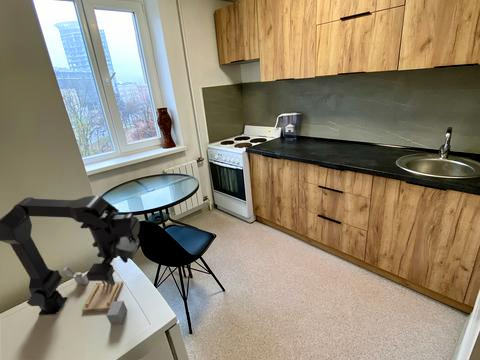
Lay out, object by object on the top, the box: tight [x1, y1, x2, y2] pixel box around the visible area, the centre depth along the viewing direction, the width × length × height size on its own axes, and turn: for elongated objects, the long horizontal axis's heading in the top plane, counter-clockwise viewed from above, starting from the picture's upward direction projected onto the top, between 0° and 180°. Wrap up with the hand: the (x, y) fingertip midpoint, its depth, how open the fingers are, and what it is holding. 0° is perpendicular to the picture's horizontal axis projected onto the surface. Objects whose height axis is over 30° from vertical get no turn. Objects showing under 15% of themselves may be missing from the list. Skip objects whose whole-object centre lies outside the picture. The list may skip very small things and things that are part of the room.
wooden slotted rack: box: [81, 280, 124, 313], centre depth 91 cm, size 10×11×5 cm
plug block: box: [106, 300, 128, 326], centre depth 83 cm, size 4×5×5 cm
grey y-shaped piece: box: [62, 266, 90, 286], centre depth 97 cm, size 7×2×8 cm, turn 84°
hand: (119, 272), depth 83 cm, fingers open, 9 cm apart
